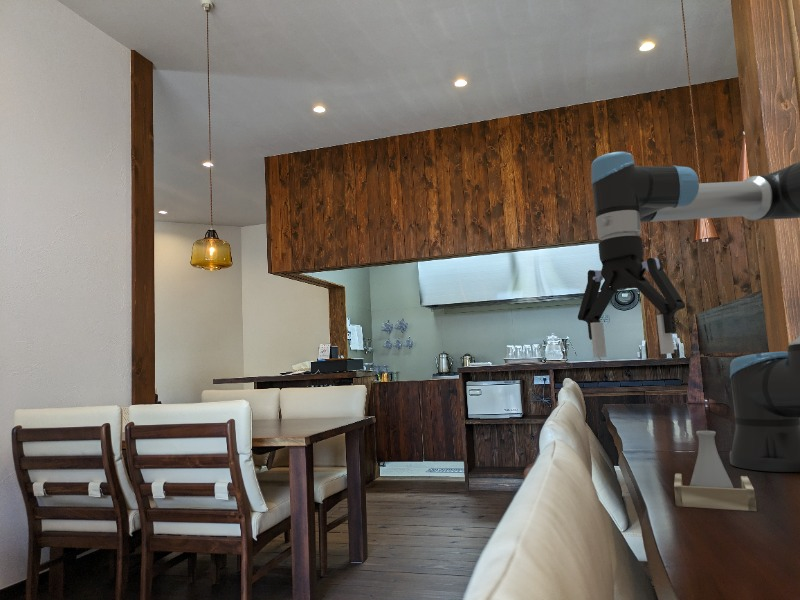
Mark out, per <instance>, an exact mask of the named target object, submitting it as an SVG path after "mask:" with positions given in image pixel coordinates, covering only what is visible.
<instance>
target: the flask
mask: <svg viewBox="0 0 800 600" xmlns="http://www.w3.org/2000/svg"><path fill="white" fill-rule="evenodd" d="M716 433H717V432H716V431H714V430H696V433H695V434H696V436H697V437H698V451H697V456H696V460H695V464H694V468H693V472H692V476H691V479H690V482H689V486H698V487H719V488H735V487H734V485H733V483H732V481H731V479H730V477H729V475H728V472H727V470H726V469H725V467H724V466H725V465H724V464H723V462H722V459H721V457H720V455H719V452H718V449H717V446H716V441H715V436H716Z"/></svg>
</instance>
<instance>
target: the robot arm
mask: <svg viewBox="0 0 800 600" xmlns="http://www.w3.org/2000/svg"><path fill="white" fill-rule="evenodd" d="M635 162H636V161H635V160H634V156H633V154H631V153H630V152H626V151H613V152H609V153H605V154H602V155H600V156H598V157H596V158H595V159H594V160H593V161H592V163H591V166H590V169H591V171H590V176H591V177H590V178H591V179H590V180H591V187H592V194H593V206H594V214H595V221H596V222H595V224H596V233H597V239H598V240H599V242H598V244H597V245H598V254H599V255H598V257H599V260H600V262H601V266H602V268H601V270H595V269H593V270H592V269H589V270H588V271H587V282H586V287H585V290H584V294H583V297H582V300H581V304H580V307H579V309H578V314H577V320H578V321H583V322H586V324H587V330H588V331H587V332H588V338H589V340H591V341H592V342H591V343H592V352H593V358H605V357H607V349H606V339H605V329H604V322H603V321H602V320H600V319H601V318H602V316H603V314H604V313H605V311H606V309H607V307H608V305H609V303H610V302H611V300H612V298H613V296H614V295H615V294H616V293H617V292H618V291H625V290H627V289H636V290H638V291H639V292H640V293H641V294H642V295H643V296H644V298H646V299H647V300H648V301H649V302H650V303H651V304H652V305H653V306H654V307H655V308H656V309H657V310H658V311H659V314H656V322H657V331H658V340H659V347H660V348H659V349H660V355H664V354H665V355H666V354H675V347H674V346H675V345H674V337H673V334H674V333H676V331H677V327H676V317H675V314H676V313H677V312H678V311H680V310H684V309H685V307H686V303H685V302H684V300H683V298H682V297H681V295H680V294H679V292H678V291H677V289H676V287H675V286H674V284H673V283H672V282H671V280H670V278H669V277H668V275H667V273H666V272H665V271H664V267H663V263H662V260H661V258H658V257H657V258H656V257H648V258H647V259H646V260H645V261H644V255H645V252H644V244H643V242H644V241H643V238H642V237H641V236H640V235H641V234H642V224H641V223H649V222H650V223H651V222H666V221H667V222H669V221H683V220H684V221H685V220H701V219H702V220H703V219H714V218H715V219H716V218H718V219H719V218H734V217H743V218H744V219H746V220H748V221H749V220H750V221H761V220H764V221H765V220H785V219H788V220H789V219H800V161H798V162H796V163H793V164H790V165H788V166H786V167H783V168H781V169H778V170H776V171H773V172H770V173H766V174H762V175H753V176H748V177H747V178H745V179H744V180H742V181H739V180H738V181H724V182H723V181H721V182H704V183H702V182H699V177H698V174H697V173H696V171H695V170H694V169H693V168H691V167H689V166H679V165H675V164H674V165H669V166H667V165H666V166H665V165H655V166H654V165H653V166H652V165H651V166H649V165H648V166H647V165H646V166H642V165H636V163H635ZM646 271H647V272H649V275H650V276H651V277H650V278H652V280H653V281H654V283H655V285H656V286H657V288H658V290H659V291H660V292H659V291H658V290H657V289H656V288H655V287H654V286H653V285H652V284H651V282H650V281H649V280H648V279H647V278H646V277H645V276H644V274H645V272H646ZM603 280H604V281H603ZM602 281H603V282H602ZM599 291H600V292H599ZM601 321H602V322H601ZM729 369H730V370H729V380H730V386H731V387H730V388H731V396H732V406H733V413H734V419H735V420H734V421H735V431H734V435H733V441H732V447H731V450H730V451H729V462H730V463H729V464H730V465H731V466H733V467H735V468H740V469H746V470H752V471H760V472H762V471H763V472H776V473H777V472H779V473H792V472H794V473H797V472H800V323H799V327H798V337H797V338H796V339H795V340H793V341H792V342H790V343H788V346H787V351H773V352H772V351H769V352H768V351H767V352H760V353H751V354H746V355H743V356H737V357H735V358H733V359H732V360H731V361H730V364H729Z"/></svg>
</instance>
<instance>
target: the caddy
mask: <svg viewBox="0 0 800 600" xmlns="http://www.w3.org/2000/svg"><path fill="white" fill-rule="evenodd" d="M682 475H683V474H682V473H675V474H674V483H673V484H674V485H673V489H674V499H675V507H681V508H682V507H686V508H701V509H713V510H717V509H718V510H733V511H747V512H749V511H751V512H757V510H758V509H757V501H756V499H757V498H756V492H755V488H754V487H753V485H752V482H751V480H750V479H749V477H748V475H740V485H741V488H739V487H738V488H737V487H736V488H735V487H734V488H719V487H698V486H690V485H683V477H682Z"/></svg>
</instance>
